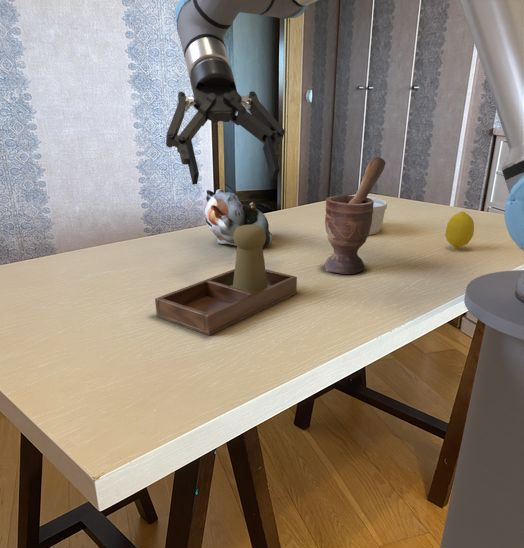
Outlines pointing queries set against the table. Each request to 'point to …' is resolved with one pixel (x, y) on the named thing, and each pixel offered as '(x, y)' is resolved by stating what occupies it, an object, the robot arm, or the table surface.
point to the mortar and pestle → (351, 222)
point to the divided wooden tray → (221, 301)
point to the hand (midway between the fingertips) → (236, 177)
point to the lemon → (460, 230)
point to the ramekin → (377, 214)
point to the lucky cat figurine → (232, 216)
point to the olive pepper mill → (250, 258)
